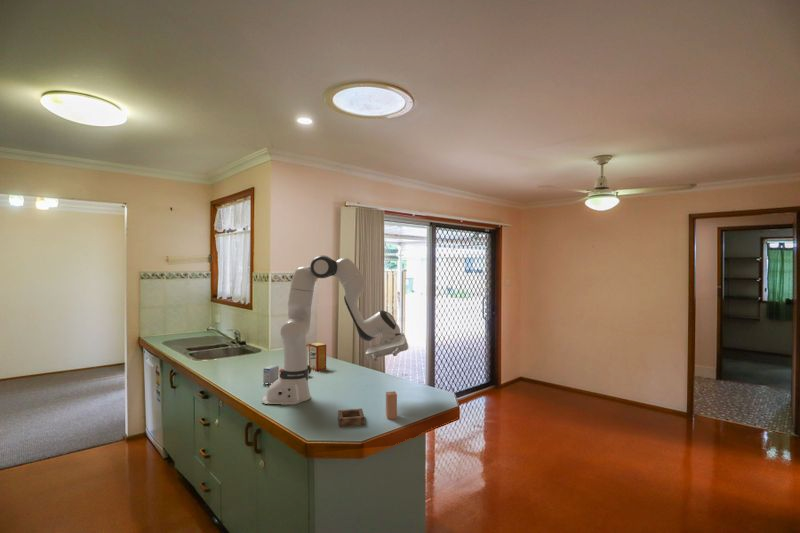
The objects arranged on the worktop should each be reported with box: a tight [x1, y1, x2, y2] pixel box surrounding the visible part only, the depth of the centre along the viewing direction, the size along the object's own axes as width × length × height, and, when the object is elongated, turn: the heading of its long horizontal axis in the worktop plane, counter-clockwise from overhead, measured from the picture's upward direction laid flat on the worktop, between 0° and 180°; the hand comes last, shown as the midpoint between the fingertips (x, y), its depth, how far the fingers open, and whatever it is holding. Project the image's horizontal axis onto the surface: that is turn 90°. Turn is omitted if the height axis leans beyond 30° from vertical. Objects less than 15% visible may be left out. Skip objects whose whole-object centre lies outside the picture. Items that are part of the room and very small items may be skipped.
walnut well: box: [337, 408, 366, 428], centre depth 158 cm, size 10×10×3 cm
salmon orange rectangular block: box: [385, 391, 398, 420], centre depth 163 cm, size 4×4×10 cm
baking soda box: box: [308, 342, 327, 372], centre depth 243 cm, size 10×6×16 cm
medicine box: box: [262, 364, 280, 384], centre depth 213 cm, size 8×4×9 cm, turn 163°
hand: (384, 357), depth 172 cm, fingers open, 8 cm apart
